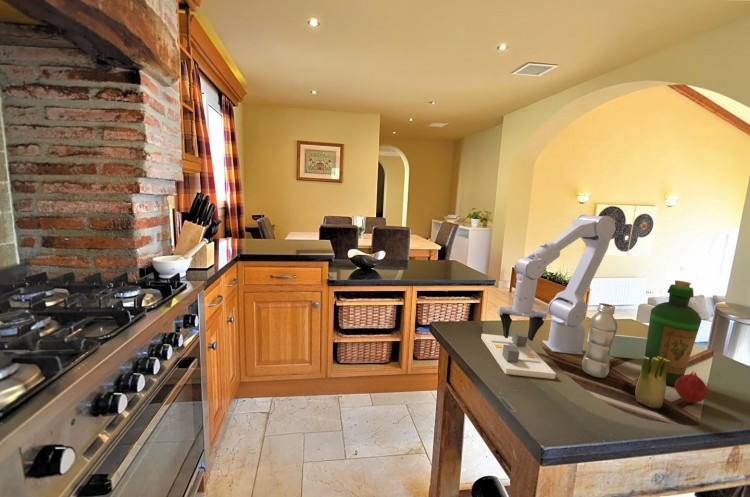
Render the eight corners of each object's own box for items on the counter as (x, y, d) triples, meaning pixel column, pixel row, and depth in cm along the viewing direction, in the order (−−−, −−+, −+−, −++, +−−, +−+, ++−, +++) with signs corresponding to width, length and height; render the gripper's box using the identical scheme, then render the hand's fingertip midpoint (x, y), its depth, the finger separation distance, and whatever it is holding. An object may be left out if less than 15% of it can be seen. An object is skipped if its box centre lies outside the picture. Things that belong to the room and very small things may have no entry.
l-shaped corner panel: (646, 361, 108) (651, 339, 107) (608, 357, 109) (613, 335, 108) (621, 345, 120) (625, 325, 119) (586, 342, 121) (590, 322, 119)
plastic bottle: (603, 372, 97) (616, 304, 94) (611, 383, 90) (625, 310, 87) (577, 366, 99) (589, 300, 96) (583, 377, 92) (596, 306, 89)
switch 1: (512, 355, 98) (514, 345, 97) (517, 362, 94) (519, 351, 93) (502, 354, 98) (503, 344, 97) (506, 361, 94) (508, 350, 93)
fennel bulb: (633, 404, 81) (643, 356, 79) (631, 395, 85) (640, 349, 83) (664, 414, 78) (675, 364, 76) (660, 404, 82) (671, 357, 80)
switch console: (520, 341, 114) (520, 337, 113) (555, 379, 90) (556, 373, 90) (481, 337, 114) (481, 333, 114) (505, 373, 90) (506, 367, 90)
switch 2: (521, 341, 109) (522, 332, 109) (526, 346, 105) (527, 337, 105) (511, 340, 109) (513, 331, 109) (516, 345, 106) (517, 336, 105)
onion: (709, 411, 81) (717, 380, 80) (682, 406, 82) (689, 375, 81) (692, 398, 86) (699, 368, 85) (666, 393, 87) (673, 364, 86)
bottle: (675, 392, 89) (699, 287, 85) (630, 372, 98) (649, 277, 94) (693, 385, 94) (717, 286, 90) (648, 366, 103) (668, 276, 99)
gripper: (505, 297, 102) (498, 341, 103) (554, 302, 101) (546, 345, 103) (497, 291, 109) (491, 332, 110) (543, 296, 108) (536, 336, 110)
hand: (517, 338), depth 107 cm, fingers open, 7 cm apart
